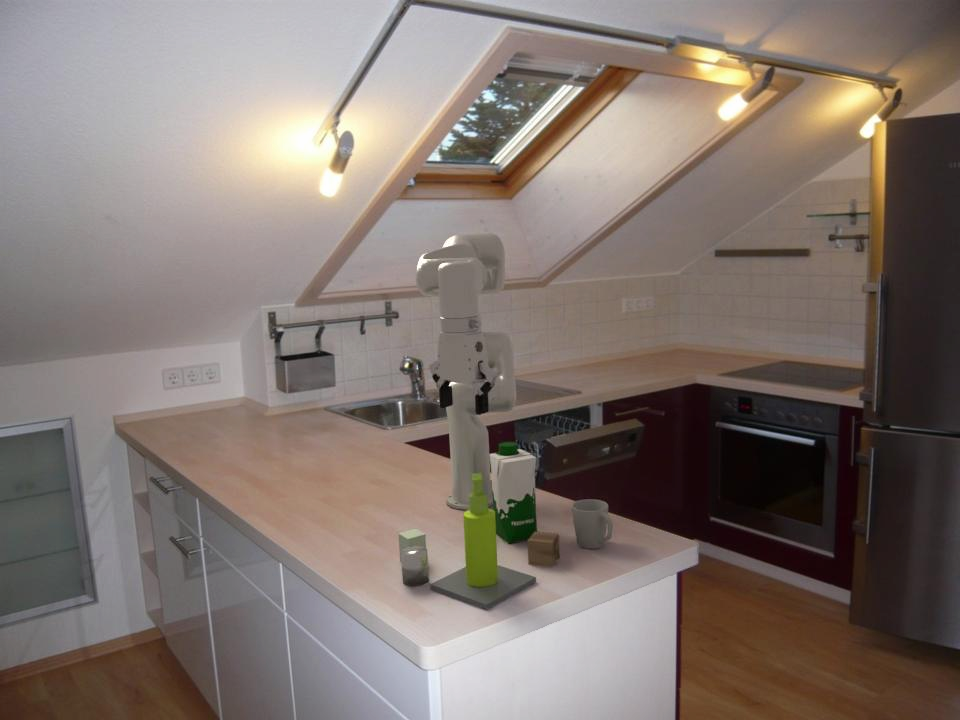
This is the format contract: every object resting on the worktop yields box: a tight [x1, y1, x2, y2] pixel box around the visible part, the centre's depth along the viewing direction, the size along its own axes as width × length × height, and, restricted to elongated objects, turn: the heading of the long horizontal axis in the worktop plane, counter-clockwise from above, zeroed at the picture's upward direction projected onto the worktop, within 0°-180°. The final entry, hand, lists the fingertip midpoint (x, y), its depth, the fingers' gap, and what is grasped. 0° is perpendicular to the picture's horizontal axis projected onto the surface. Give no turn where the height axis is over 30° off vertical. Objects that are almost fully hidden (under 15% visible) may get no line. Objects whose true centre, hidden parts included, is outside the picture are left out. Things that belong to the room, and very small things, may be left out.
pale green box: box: [398, 528, 427, 563], centre depth 162 cm, size 4×4×6 cm
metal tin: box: [401, 546, 430, 587], centre depth 153 cm, size 5×5×6 cm
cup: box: [570, 498, 614, 550], centre depth 165 cm, size 8×10×8 cm
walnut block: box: [527, 530, 561, 567], centre depth 160 cm, size 5×5×5 cm
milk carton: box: [489, 441, 538, 544], centre depth 172 cm, size 9×9×20 cm
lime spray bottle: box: [462, 473, 498, 587], centre depth 148 cm, size 6×7×20 cm
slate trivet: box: [429, 564, 537, 611], centre depth 149 cm, size 14×14×1 cm
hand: (464, 409), depth 160 cm, fingers open, 9 cm apart
